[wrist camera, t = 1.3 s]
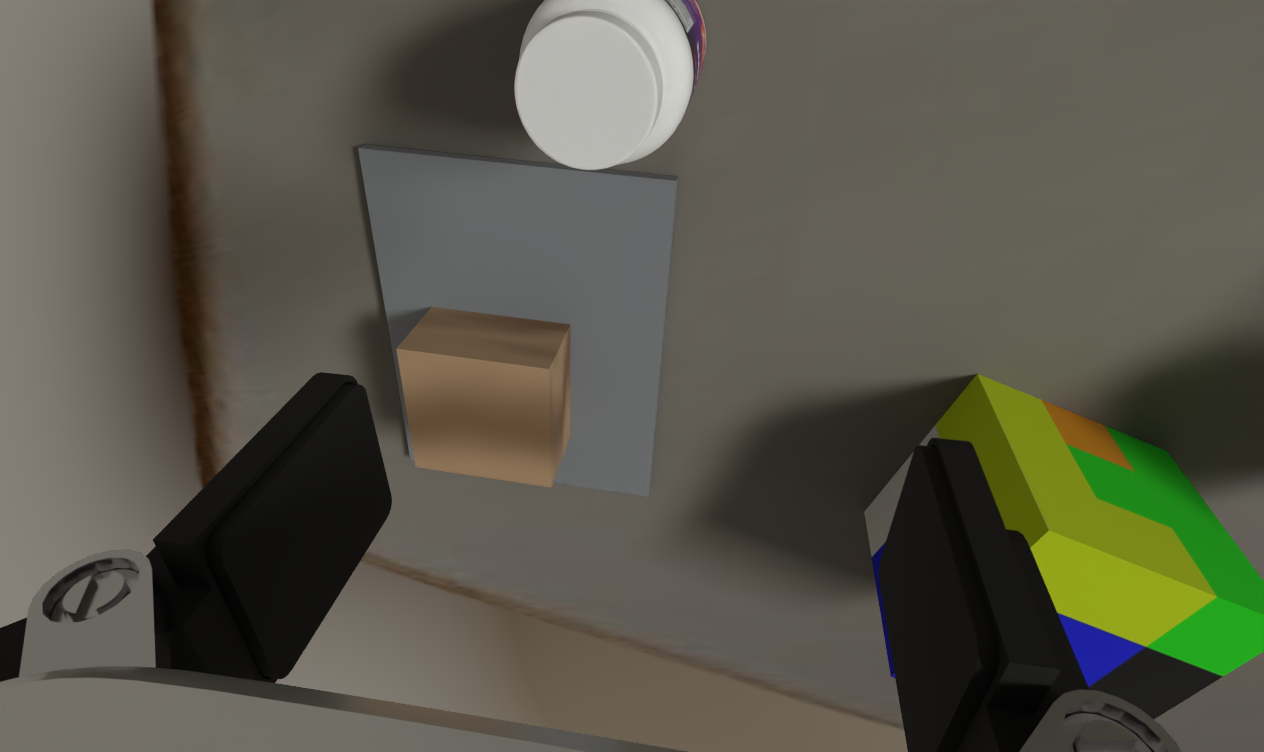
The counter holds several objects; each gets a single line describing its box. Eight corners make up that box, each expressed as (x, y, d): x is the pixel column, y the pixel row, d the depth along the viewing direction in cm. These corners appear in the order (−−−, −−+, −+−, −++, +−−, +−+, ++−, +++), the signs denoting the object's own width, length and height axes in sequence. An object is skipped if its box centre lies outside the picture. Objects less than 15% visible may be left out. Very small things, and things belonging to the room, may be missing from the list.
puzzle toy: (863, 511, 38) (891, 676, 30) (977, 372, 32) (1049, 530, 24) (1027, 574, 39) (1097, 753, 30) (1166, 450, 33) (1299, 629, 25)
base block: (431, 306, 34) (396, 348, 31) (570, 324, 33) (549, 369, 30) (445, 419, 38) (415, 466, 35) (570, 437, 37) (551, 487, 34)
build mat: (364, 144, 31) (357, 148, 30) (678, 176, 29) (676, 181, 29) (414, 454, 41) (410, 460, 40) (650, 489, 39) (648, 496, 39)
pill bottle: (656, 142, 29) (613, 230, 21) (545, 62, 28) (455, 122, 20) (737, 21, 26) (724, 70, 18) (617, -73, 25) (546, -67, 17)
